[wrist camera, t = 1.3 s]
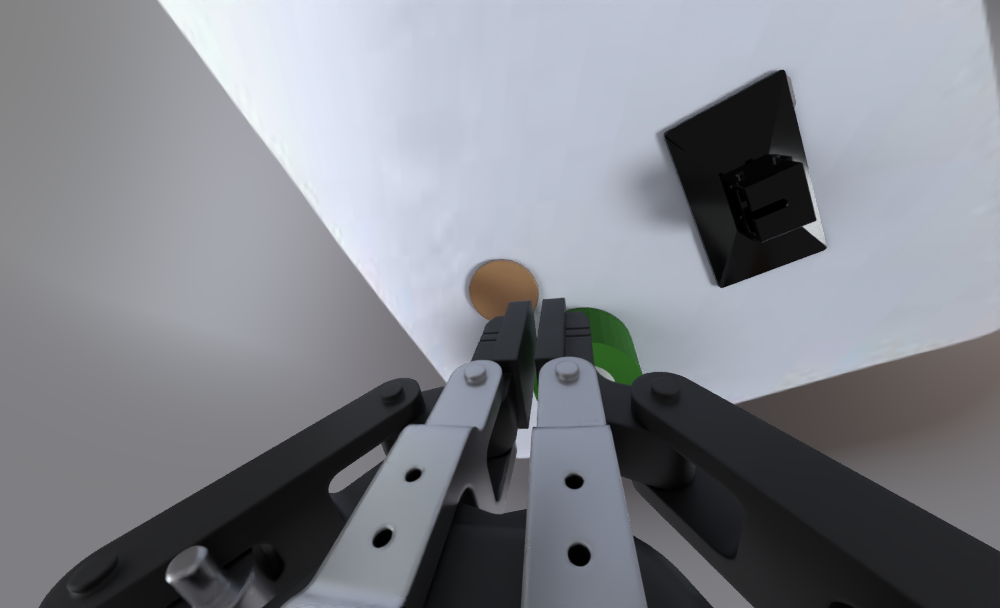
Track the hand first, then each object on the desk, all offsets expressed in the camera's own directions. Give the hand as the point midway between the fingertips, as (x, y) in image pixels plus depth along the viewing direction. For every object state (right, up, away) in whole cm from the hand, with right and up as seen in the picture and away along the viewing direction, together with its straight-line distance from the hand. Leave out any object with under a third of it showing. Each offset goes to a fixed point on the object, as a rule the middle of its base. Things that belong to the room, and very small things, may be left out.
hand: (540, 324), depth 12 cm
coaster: (-1, +2, +19) cm, 19 cm away
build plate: (+15, +8, +12) cm, 22 cm away
